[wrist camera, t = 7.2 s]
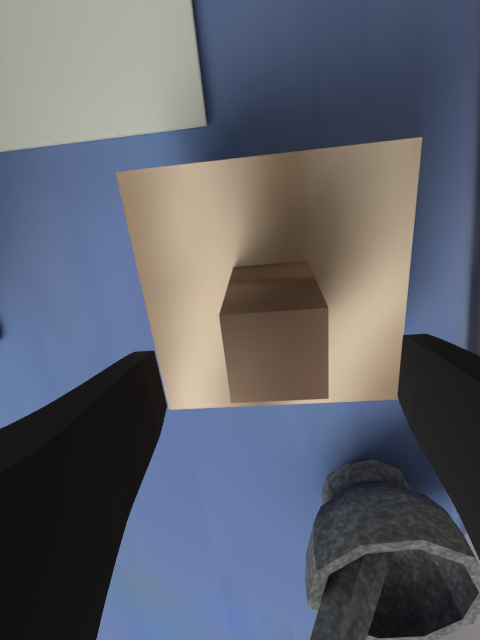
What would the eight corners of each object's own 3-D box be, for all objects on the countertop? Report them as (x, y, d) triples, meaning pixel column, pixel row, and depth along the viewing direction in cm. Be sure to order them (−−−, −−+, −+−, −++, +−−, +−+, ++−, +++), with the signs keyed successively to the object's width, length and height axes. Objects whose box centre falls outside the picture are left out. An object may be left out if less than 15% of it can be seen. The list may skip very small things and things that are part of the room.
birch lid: (172, 399, 18) (135, 496, 13) (123, 171, 14) (36, 177, 9) (391, 389, 17) (448, 490, 12) (413, 138, 13) (519, 121, 7)
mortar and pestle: (434, 432, 23) (588, 676, 12) (437, 527, 27) (557, 781, 16) (266, 454, 25) (268, 686, 14) (290, 541, 28) (306, 779, 17)
